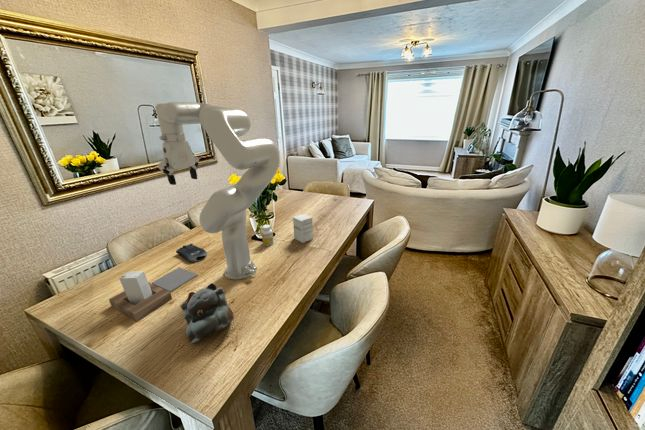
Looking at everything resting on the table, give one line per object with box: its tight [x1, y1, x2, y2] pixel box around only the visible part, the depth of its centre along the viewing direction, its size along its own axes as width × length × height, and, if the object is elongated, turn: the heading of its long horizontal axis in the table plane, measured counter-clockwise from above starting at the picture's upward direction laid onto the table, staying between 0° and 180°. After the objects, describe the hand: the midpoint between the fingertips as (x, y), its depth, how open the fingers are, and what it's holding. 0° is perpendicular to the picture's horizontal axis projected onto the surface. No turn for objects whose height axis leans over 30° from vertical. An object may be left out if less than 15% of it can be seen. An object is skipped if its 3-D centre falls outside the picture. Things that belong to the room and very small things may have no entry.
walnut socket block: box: [108, 281, 173, 322], centre depth 90 cm, size 16×12×3 cm
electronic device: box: [175, 243, 208, 263], centre depth 120 cm, size 9×6×15 cm
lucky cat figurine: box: [180, 282, 235, 344], centre depth 78 cm, size 15×12×14 cm
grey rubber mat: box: [151, 267, 199, 293], centre depth 103 cm, size 12×12×1 cm
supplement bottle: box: [261, 224, 274, 247], centre depth 128 cm, size 5×5×10 cm
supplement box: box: [292, 213, 314, 244], centre depth 132 cm, size 7×7×13 cm
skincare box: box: [119, 270, 153, 305], centre depth 89 cm, size 6×4×12 cm
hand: (184, 181), depth 104 cm, fingers open, 9 cm apart
